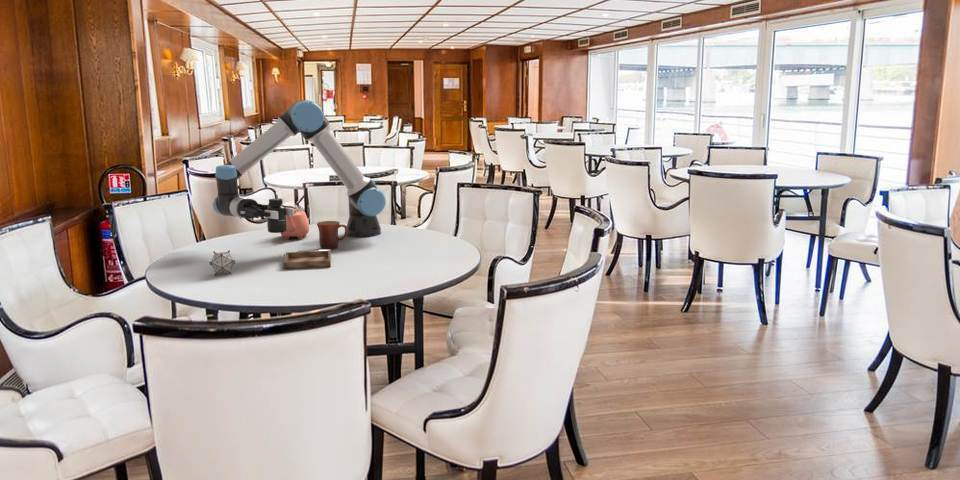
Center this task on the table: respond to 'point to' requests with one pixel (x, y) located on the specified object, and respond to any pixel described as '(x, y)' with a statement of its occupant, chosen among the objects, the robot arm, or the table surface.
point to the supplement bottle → (280, 223)
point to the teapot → (296, 225)
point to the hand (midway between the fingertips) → (285, 213)
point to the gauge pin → (315, 250)
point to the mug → (330, 234)
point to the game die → (222, 262)
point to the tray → (307, 259)
